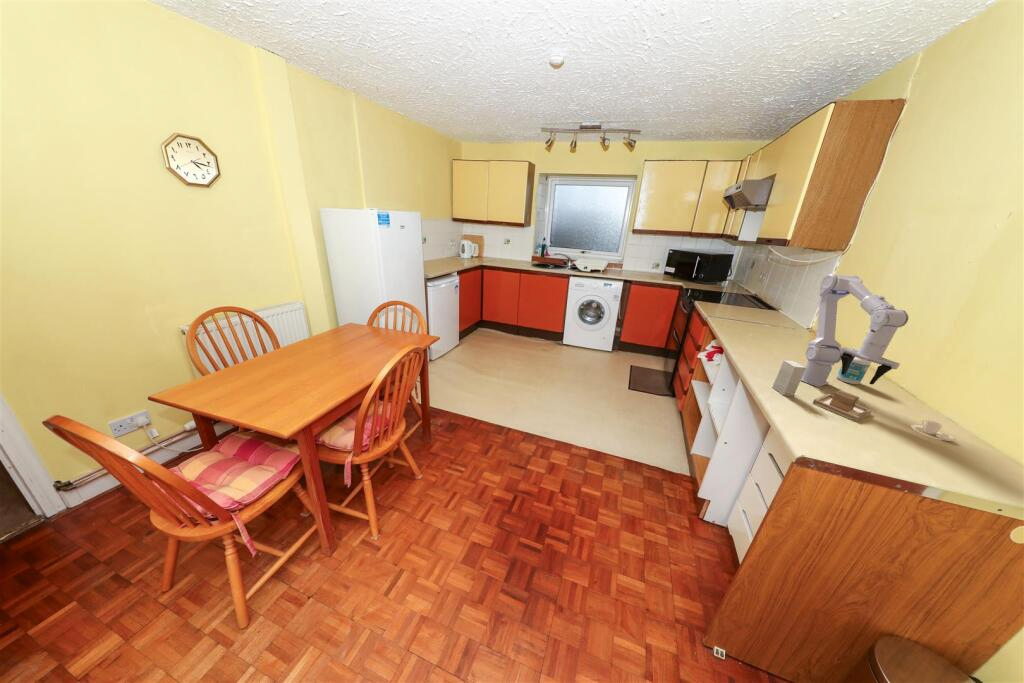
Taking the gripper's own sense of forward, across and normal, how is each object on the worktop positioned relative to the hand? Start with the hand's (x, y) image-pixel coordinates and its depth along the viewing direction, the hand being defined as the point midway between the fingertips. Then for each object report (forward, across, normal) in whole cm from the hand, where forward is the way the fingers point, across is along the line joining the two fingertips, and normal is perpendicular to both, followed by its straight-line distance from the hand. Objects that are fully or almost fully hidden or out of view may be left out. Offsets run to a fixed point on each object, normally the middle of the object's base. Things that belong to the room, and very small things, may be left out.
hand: (857, 378), depth 116 cm
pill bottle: (+11, -8, +28) cm, 31 cm away
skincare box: (+11, -14, -13) cm, 22 cm away
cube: (+10, +1, -6) cm, 12 cm away
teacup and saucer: (+11, +21, +2) cm, 24 cm away
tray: (+10, +1, -6) cm, 12 cm away
